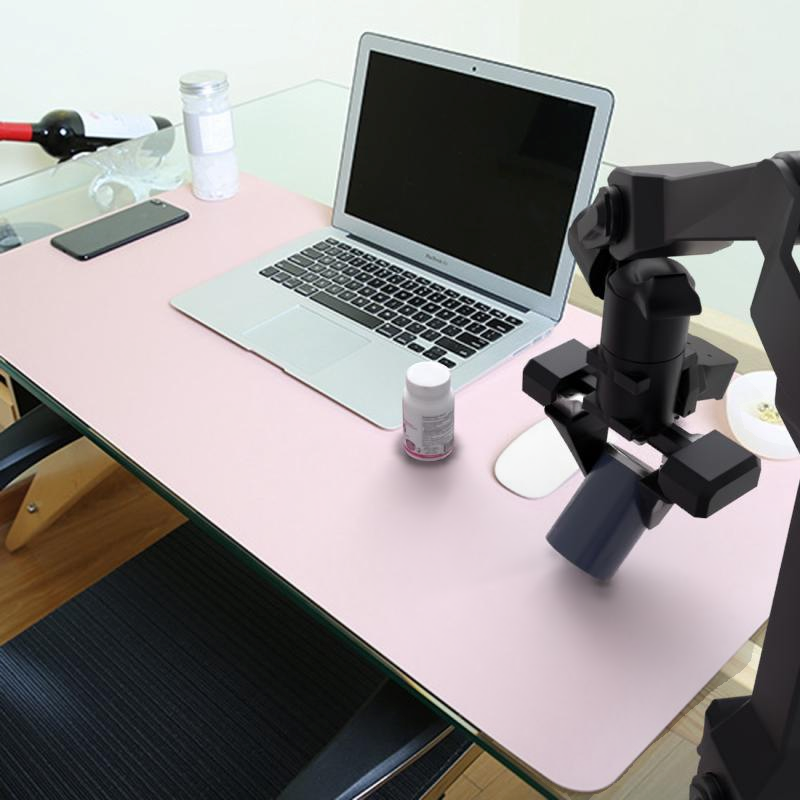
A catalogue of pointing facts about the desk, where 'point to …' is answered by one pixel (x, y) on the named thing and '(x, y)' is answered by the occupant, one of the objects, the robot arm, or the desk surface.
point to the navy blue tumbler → (603, 515)
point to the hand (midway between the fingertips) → (622, 503)
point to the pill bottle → (428, 412)
